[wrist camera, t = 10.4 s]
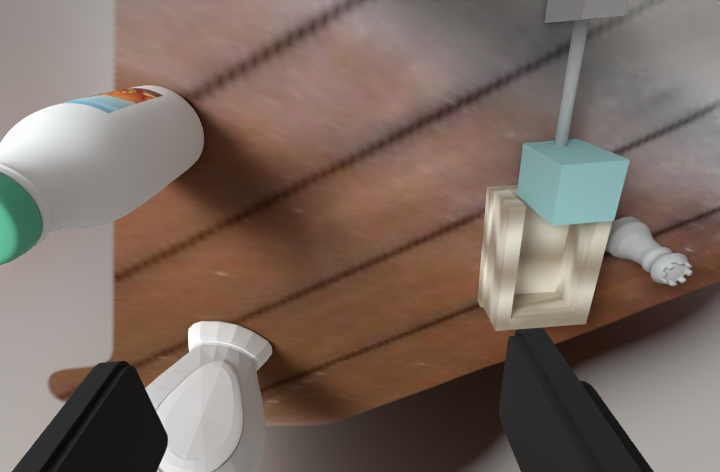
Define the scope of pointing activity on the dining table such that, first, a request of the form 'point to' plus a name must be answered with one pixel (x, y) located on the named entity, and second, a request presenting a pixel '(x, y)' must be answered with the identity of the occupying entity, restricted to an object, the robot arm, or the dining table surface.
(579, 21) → the cube dumbbell
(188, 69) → the dining table surface
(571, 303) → the beige wooden open box
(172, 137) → the milk bottle
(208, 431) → the soap bottle
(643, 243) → the rook chess piece
